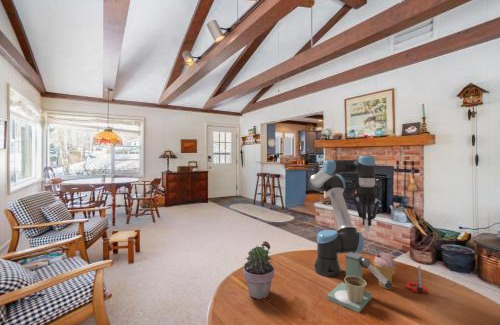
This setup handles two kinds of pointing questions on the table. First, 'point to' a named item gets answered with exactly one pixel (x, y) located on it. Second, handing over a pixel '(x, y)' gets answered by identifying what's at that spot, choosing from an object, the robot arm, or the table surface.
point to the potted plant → (259, 271)
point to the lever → (375, 272)
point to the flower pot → (355, 288)
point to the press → (340, 291)
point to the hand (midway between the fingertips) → (367, 231)
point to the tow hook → (417, 284)
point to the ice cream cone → (384, 266)
